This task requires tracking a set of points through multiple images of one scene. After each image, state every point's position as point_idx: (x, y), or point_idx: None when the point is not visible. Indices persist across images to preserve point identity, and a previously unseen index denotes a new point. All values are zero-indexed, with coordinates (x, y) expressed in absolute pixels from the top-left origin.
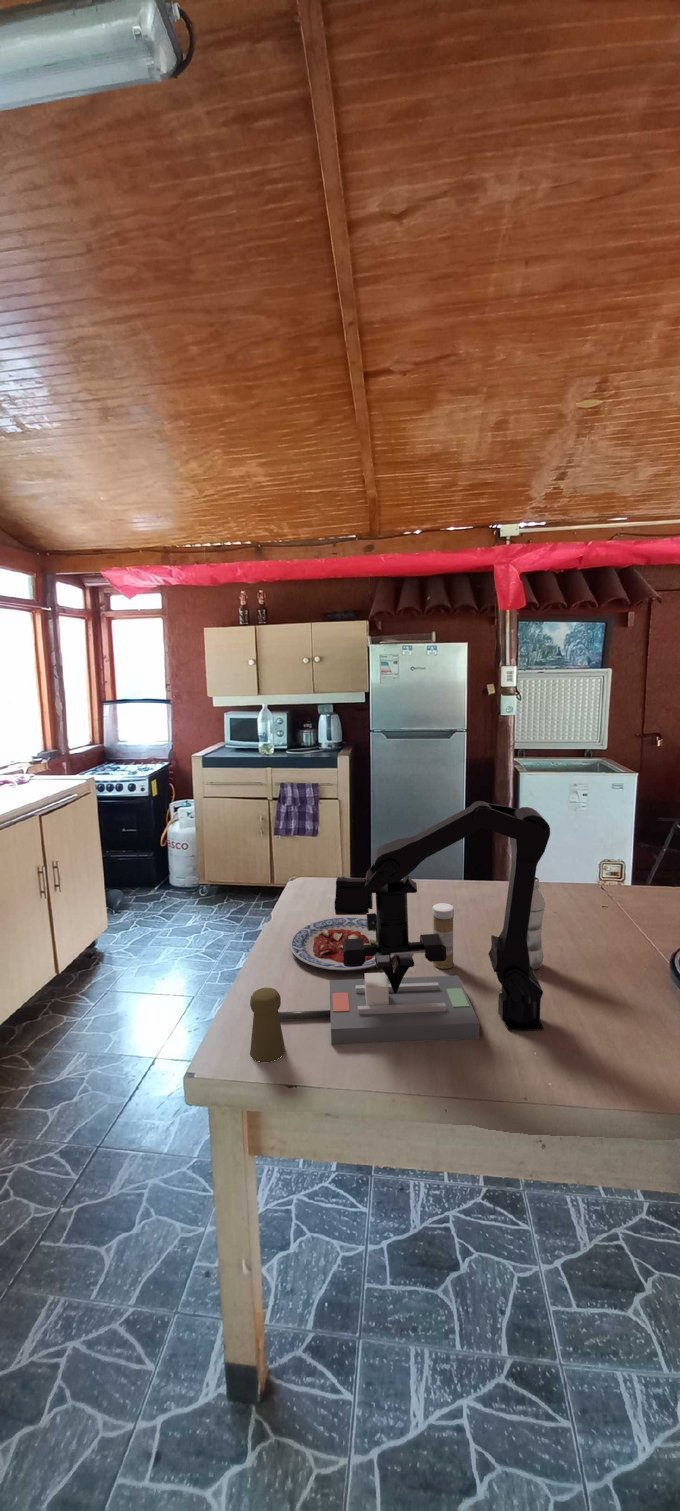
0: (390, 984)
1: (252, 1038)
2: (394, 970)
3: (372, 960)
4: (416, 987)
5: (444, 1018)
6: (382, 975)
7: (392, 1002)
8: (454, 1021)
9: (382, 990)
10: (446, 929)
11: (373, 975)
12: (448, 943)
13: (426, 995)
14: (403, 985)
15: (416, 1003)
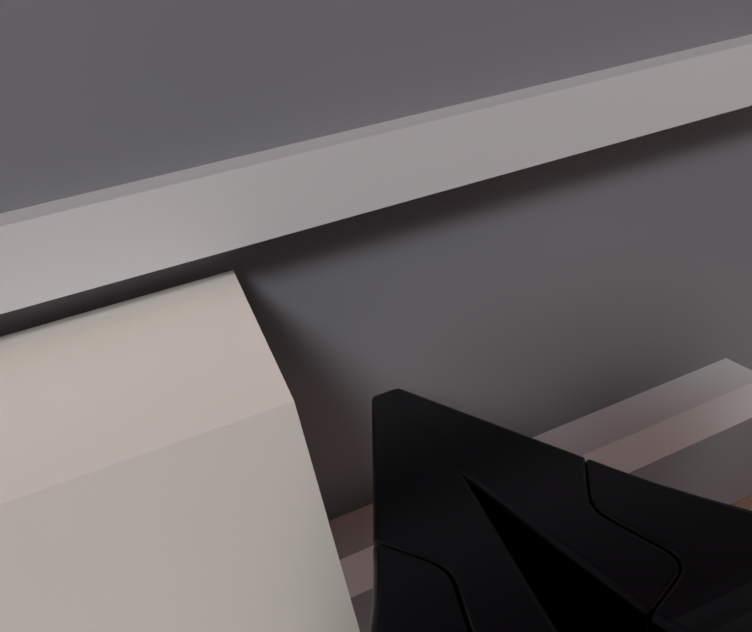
0: (293, 166)
1: None
2: (536, 559)
3: None
4: (591, 146)
5: (693, 476)
6: (249, 514)
7: (331, 411)
8: (736, 481)
9: None
10: None
11: (52, 589)
12: None
13: (638, 211)
14: (463, 158)
15: (543, 363)
